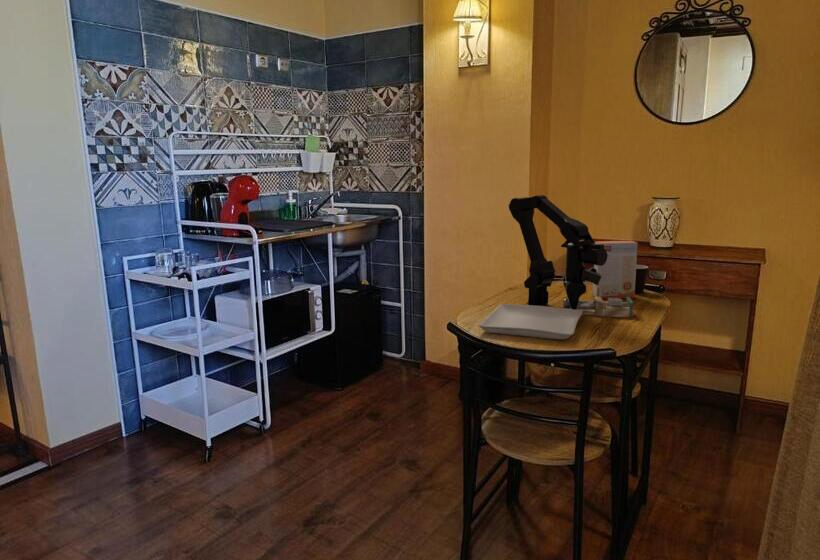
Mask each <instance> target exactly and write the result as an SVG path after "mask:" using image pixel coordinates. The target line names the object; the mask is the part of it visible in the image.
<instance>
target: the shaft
mask: <svg viewBox="0 0 820 560" xmlns="http://www.w3.org/2000/svg"><path fill="white" fill-rule="evenodd" d="M562 302H563V303H562V308H565V309H572V308H571V305H570V302H569V299H568V298H563V301H562ZM576 309H582V310H596V301H594V300H580V299H579V301H578V304H577V308H576Z"/></svg>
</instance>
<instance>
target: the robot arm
mask: <svg viewBox="0 0 820 560" xmlns="http://www.w3.org/2000/svg"><path fill="white" fill-rule="evenodd" d="M535 209H537V210H538V211H540V212H541V213H542V214H543V215H544V216H545V217H546V218H547V219H548V220H549V221H551V223H553V224H554V225H556V226H557V228H558V229H559V232H560V234H561V235H562V237H563V238H564V239H565V242H563V243H562V244H561V245H560V247H561V248H566V256H565V257H566V258H565V263H564V264H565V273H564V274H563V275H562V282H563V283H562V284H563V286H564V289H565V293H566V296H567V299H568V300H569V302H570V305H571V308H572V309H573V310H576V308H577V304H578V301H579V300H580V297H581V296H583V295H585V294H586V293H587V284H585V282H589V283H592V284H593V283H594V284H595V285H598V284H599V281H600V279H601V277H602V276H601V275H600V274H599V273H597V270H596V269H595V268H594V265H599V266H603V265H604V264H605V263H606V261H607V256H608V254H607V252H606V250H605V249H604V244H595V242H596V241H594V239H593V237H592V235H591V234H590V233H591V232H589V227H588V226H587V225H586V224H585V223H584V222H582V221H580V220H577V219H575V218H572V217H570V216H568V214H566V213H565V212H563V210H562V209H560V208H559V207H558V206H556V205H555V204H554V203H553V202H552V201H551V200H549V198H548V197H547V196H546V195H545V194H539V195H537V194H536V195H533V196H529V197H527V196H525V197H524V196H523V197H514V198H512V199H510V201H509V204H508V210H509V212H510V214H511V215H512V218H513V219H514V220H515V221H516V222H517V223H518V225H519V228H520V230H521V234H522V238H523V241H524V243H525V247H526V251H527V254H528V257H529V260H530V263H529V268H528V271H529V276H528V277H527V278H526V279H525V280H524V282H523V284H524V285H523V286H524V288H525V289H528V298H527V299H528V300H527V305H533V306H545V307H548V304H549V291H548V287H551V286H552V283H553V282H554V279H555V278H556V269H555V267H554V263H553V261H552V260H547V259H546V257H545V255H544V252H543V249H542V246H541V243H540V239H539V236H538V233H537V229H536V227H535V223H534V214H535ZM585 264H587V265H593V266H591V268H589V269H588V268H586V266H585Z"/></svg>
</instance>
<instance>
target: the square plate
mask: <svg viewBox="0 0 820 560" xmlns="http://www.w3.org/2000/svg"><path fill="white" fill-rule="evenodd" d="M582 313H583V311H581V310H573V309H565V308H563V307H562V308H561V307H555V306H533V305H528V304H514V303H513V304H510V303H509V304H508V303H507V304H506V303H500V304H499V305H497V306H496V308H495V309H493V311H492V312H490V313H489V314H488V315H487V316H486V317H485V318H484V319H483V320H482V321H481V322H480V323H479V325H478V327H479V328H480V329H482V330H483V331H485V332H487V333H493V334H499V333H500V334H501V335H507V334H510V335H509V336H517V335H521V336H520V337H527V336H531V337H530V338H536V337H540V338H539V339H546V338H547V340H548V339H549V340H566V339H569V338H570V337H571V336H572V335H574V334H575V332H576V327H577V324H578V321H579V320H580V318H581V317H582Z"/></svg>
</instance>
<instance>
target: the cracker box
mask: <svg viewBox="0 0 820 560" xmlns="http://www.w3.org/2000/svg"><path fill="white" fill-rule="evenodd" d="M594 242H595V244H604V249H605V250H606V252H607V254H608V256H607V261H606V263H605V264H604V265H603V266H599V265H593V268H595V269H596V270H597V273H599V274H600V275H601V276H602V277H601V279H600V281H599V284H598V285H595V284H594V283H592V296H593V297H601V298H602V299H608V298H621V299H626V297H630V299H634V298H635V295H636V294H635V279H636V265H637V262H638V261H637V259H638V257H637V256H638V242H637V241H634V240H603V241H599V240H598V241H597V240H596V241H594Z"/></svg>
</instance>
